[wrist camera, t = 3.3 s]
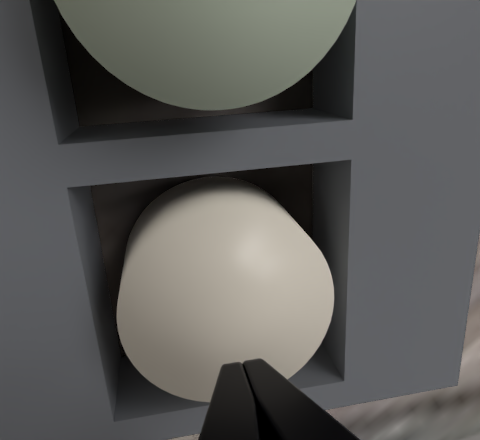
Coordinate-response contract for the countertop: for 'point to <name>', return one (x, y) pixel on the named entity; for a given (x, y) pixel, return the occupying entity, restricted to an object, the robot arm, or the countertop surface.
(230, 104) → the button sage
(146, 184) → the countertop surface
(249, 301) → the button cream
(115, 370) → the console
